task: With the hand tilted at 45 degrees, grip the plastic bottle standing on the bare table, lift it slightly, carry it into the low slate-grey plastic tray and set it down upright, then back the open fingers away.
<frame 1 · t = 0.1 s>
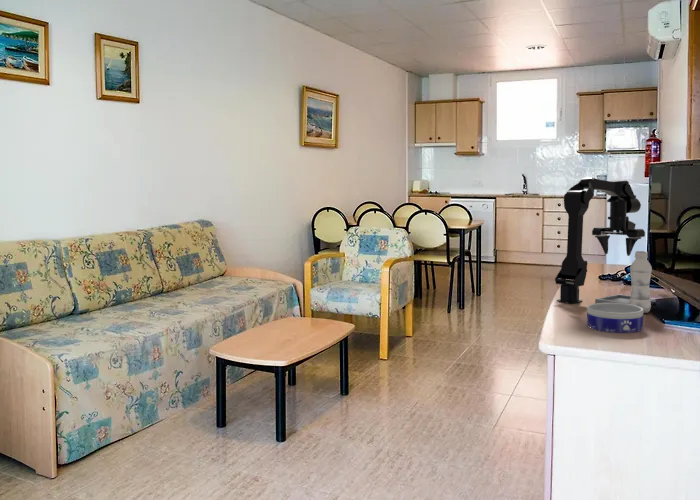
hand: (617, 254, 232), 15 cm above the tv stand, tool pointing down, fingers open, 9 cm apart
grey tray: (625, 303, 214), on the tv stand
dog bowl: (614, 328, 180), on the tv stand
plastic bottle: (639, 313, 198), on the tv stand
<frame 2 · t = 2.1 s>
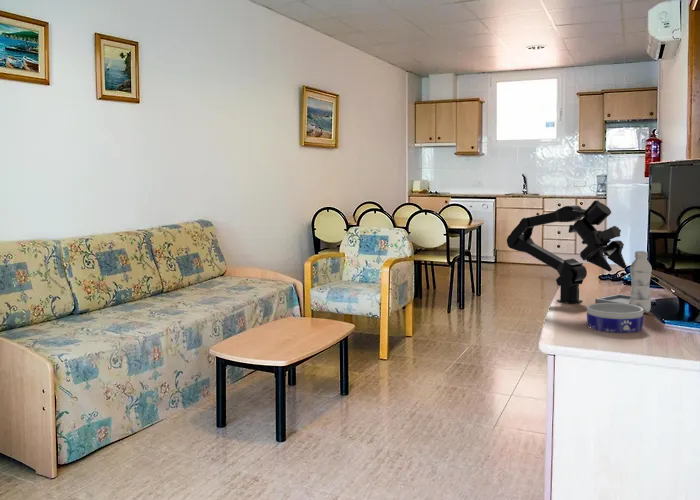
hand: (618, 269, 203), 13 cm above the tv stand, tool tilted 45°, fingers open, 9 cm apart
nothing on the tv stand moved.
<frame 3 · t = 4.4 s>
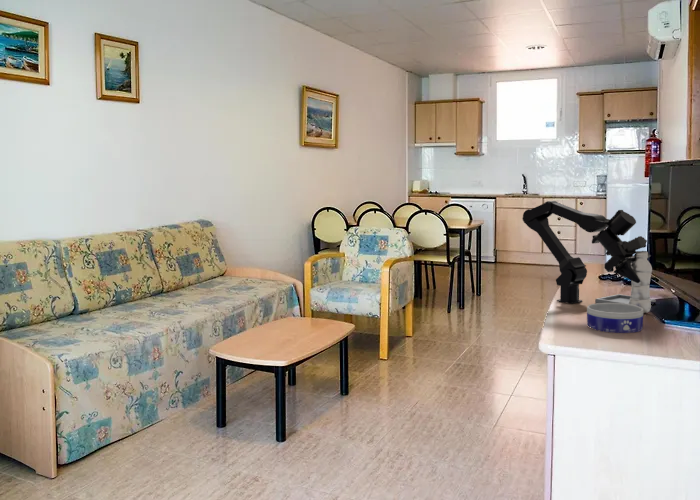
hand: (644, 281, 195), 11 cm above the tv stand, tool tilted 45°, fingers closed on plastic bottle, 6 cm apart
plastic bottle: (639, 313, 198), on the tv stand, touching gripper
everything else where it was.
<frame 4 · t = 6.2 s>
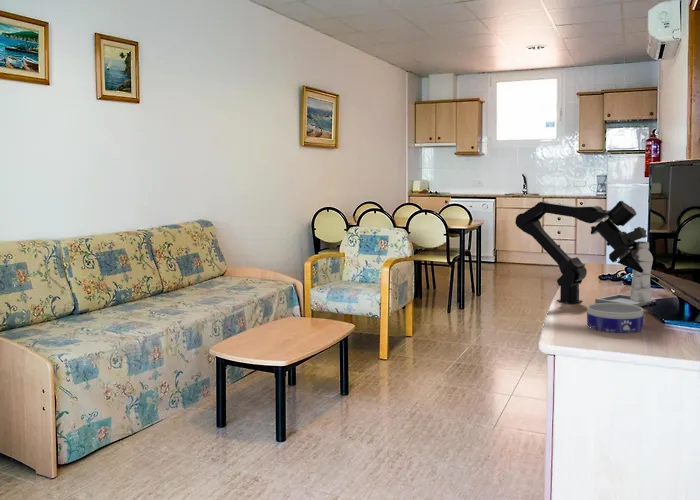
hand: (645, 270, 199), 13 cm above the tv stand, tool tilted 45°, fingers closed on plastic bottle, 6 cm apart
plastic bottle: (640, 302, 202), point 2 cm above the tv stand, touching gripper
everything else where it was.
when the fingers open (12 cm above the tv stand, at t = 7.8 s): plastic bottle drops 1 cm, resting on grey tray.
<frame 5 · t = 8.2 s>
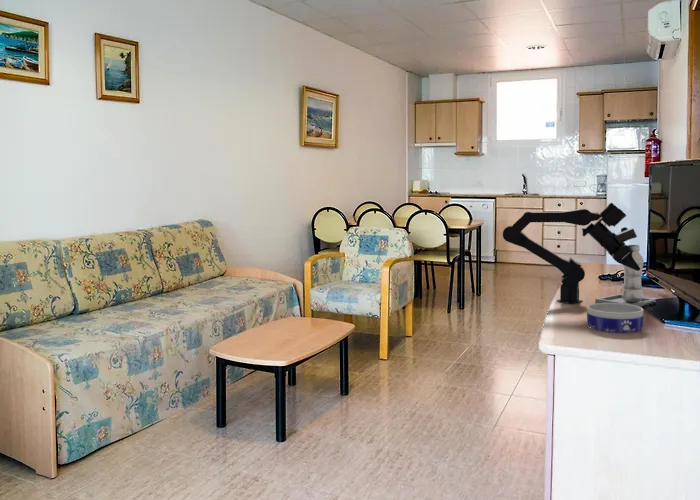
hand: (637, 268, 211), 13 cm above the tv stand, tool tilted 45°, fingers open, 9 cm apart
plastic bottle: (631, 302, 212), resting on grey tray
everything else where it was.
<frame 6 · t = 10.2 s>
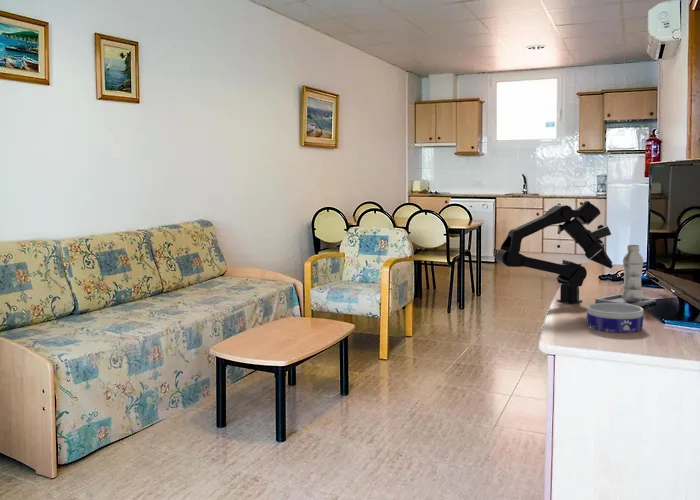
hand: (611, 265, 213), 13 cm above the tv stand, tool tilted 45°, fingers open, 9 cm apart
nothing on the tv stand moved.
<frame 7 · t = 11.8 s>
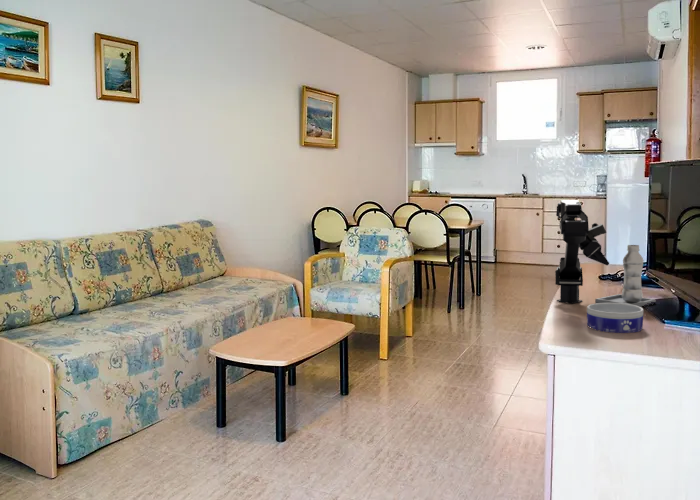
hand: (607, 262, 220), 14 cm above the tv stand, tool tilted 45°, fingers open, 9 cm apart
nothing on the tv stand moved.
at the end: plastic bottle inside the target area on the grey tray (2.1 cm from its centre), point 0.3 cm above the grey tray's base; plastic bottle tilted 0°; the gripper is holding nothing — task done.
